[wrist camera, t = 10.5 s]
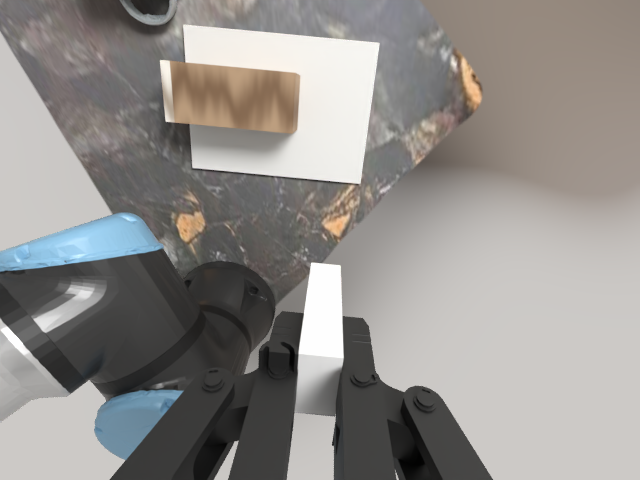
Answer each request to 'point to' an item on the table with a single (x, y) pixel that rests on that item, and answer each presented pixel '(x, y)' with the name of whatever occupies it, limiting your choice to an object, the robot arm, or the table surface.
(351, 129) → the white mat
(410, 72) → the table surface
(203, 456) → the robot arm
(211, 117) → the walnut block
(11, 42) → the table surface
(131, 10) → the ceramic mug
